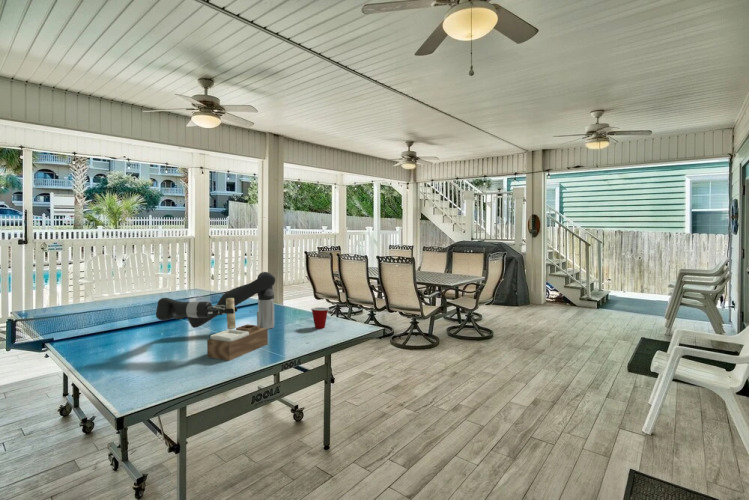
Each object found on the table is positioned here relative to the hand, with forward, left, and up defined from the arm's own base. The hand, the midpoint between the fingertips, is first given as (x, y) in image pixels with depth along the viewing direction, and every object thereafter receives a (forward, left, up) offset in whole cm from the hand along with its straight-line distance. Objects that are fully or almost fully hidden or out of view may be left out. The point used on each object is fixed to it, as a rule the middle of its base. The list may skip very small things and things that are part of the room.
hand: (235, 310), depth 182 cm
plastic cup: (+11, +59, -21) cm, 63 cm away
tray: (-3, -1, -13) cm, 13 cm away
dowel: (-2, -1, -8) cm, 9 cm away
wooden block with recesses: (-3, +5, -21) cm, 22 cm away
